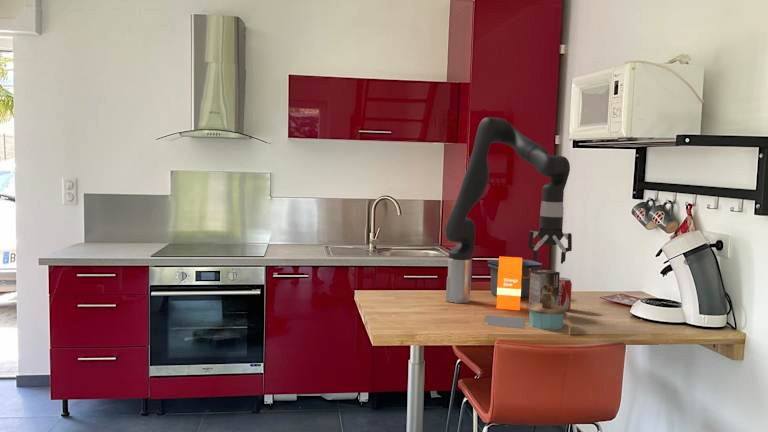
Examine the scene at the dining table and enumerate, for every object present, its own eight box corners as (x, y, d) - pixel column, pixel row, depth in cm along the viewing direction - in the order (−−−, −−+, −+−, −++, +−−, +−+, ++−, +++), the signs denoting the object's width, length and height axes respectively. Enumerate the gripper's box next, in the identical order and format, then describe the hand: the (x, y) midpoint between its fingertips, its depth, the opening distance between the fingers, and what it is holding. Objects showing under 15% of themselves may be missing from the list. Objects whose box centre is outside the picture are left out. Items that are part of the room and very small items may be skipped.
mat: (482, 326, 218) (482, 324, 218) (485, 316, 231) (486, 315, 231) (524, 330, 214) (524, 328, 214) (525, 320, 228) (525, 318, 228)
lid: (526, 312, 214) (527, 295, 214) (527, 304, 227) (528, 287, 226) (566, 315, 211) (567, 298, 210) (565, 307, 223) (566, 290, 223)
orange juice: (519, 311, 240) (522, 259, 238) (496, 310, 242) (498, 257, 240) (520, 307, 248) (522, 256, 246) (497, 305, 250) (499, 254, 248)
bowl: (528, 329, 215) (529, 312, 215) (529, 321, 226) (530, 304, 226) (562, 332, 213) (563, 314, 212) (562, 324, 223) (563, 307, 223)
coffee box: (546, 310, 243) (548, 269, 241) (558, 314, 237) (560, 272, 236) (527, 313, 239) (529, 270, 237) (539, 317, 233) (541, 273, 232)
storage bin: (525, 290, 279) (526, 258, 278) (546, 298, 265) (548, 264, 264) (482, 293, 271) (484, 260, 270) (502, 301, 257) (504, 266, 256)
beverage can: (571, 312, 242) (572, 280, 241) (554, 310, 243) (555, 279, 242) (569, 308, 248) (571, 277, 247) (553, 307, 250) (554, 276, 248)
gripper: (529, 214, 214) (527, 262, 215) (574, 217, 210) (571, 265, 212) (530, 212, 221) (527, 259, 223) (573, 215, 218) (570, 262, 219)
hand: (548, 262), depth 217 cm, fingers open, 8 cm apart
